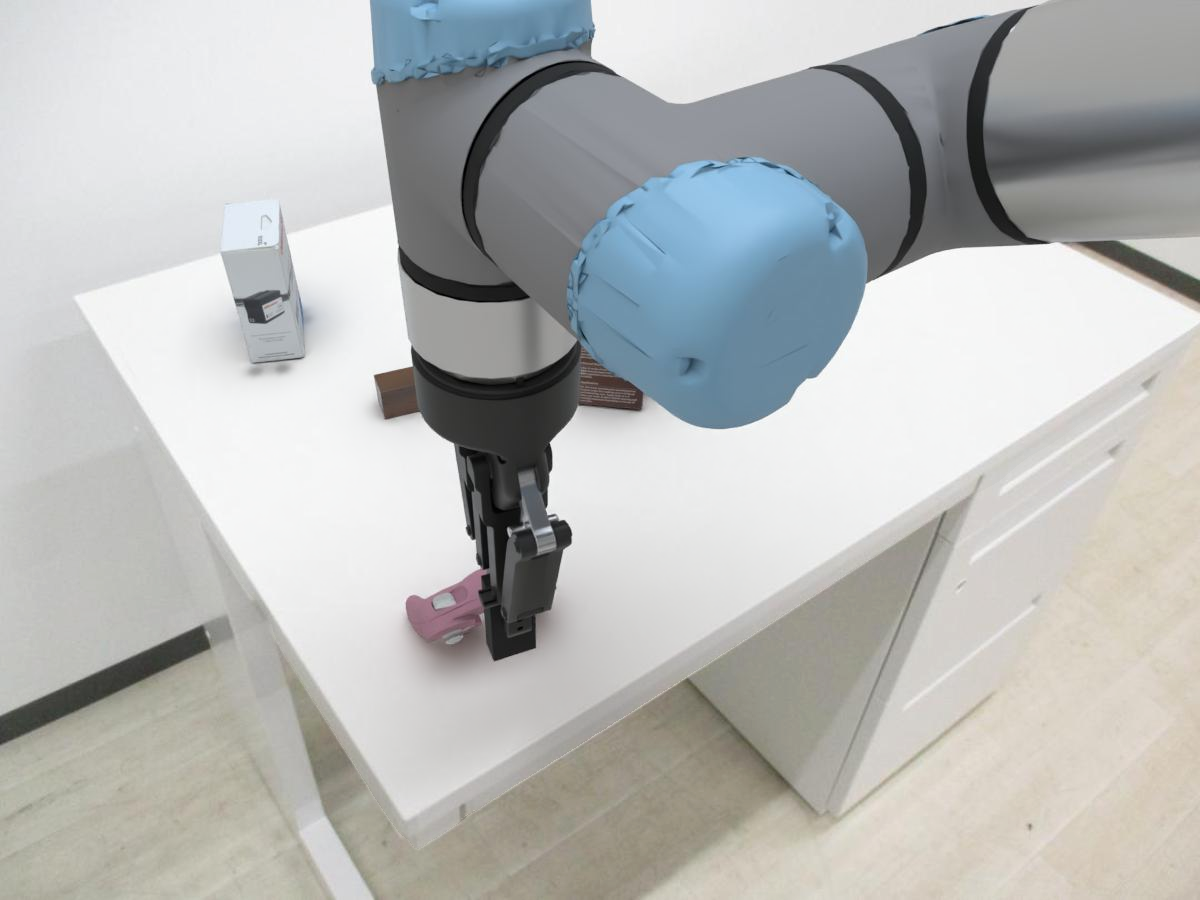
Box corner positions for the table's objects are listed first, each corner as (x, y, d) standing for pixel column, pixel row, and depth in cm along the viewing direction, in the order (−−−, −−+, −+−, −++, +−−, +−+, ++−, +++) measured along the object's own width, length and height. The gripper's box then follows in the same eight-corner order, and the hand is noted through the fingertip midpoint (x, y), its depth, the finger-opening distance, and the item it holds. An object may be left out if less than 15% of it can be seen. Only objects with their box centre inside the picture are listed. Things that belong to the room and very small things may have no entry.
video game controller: (422, 665, 65) (430, 646, 59) (398, 604, 66) (404, 579, 60) (551, 612, 68) (572, 589, 62) (527, 555, 70) (545, 527, 63)
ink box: (251, 311, 91) (222, 200, 83) (304, 305, 92) (280, 195, 84) (249, 365, 85) (217, 251, 77) (305, 358, 86) (279, 246, 78)
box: (646, 379, 86) (656, 265, 77) (642, 412, 82) (652, 296, 74) (580, 373, 86) (583, 258, 78) (573, 405, 83) (575, 289, 75)
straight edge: (726, 338, 91) (730, 312, 89) (384, 419, 81) (380, 392, 79) (714, 324, 92) (717, 298, 90) (378, 401, 82) (373, 374, 80)
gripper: (634, 406, 38) (609, 713, 55) (526, 244, 47) (532, 551, 63) (456, 452, 36) (485, 758, 53) (376, 272, 45) (422, 583, 61)
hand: (511, 645), depth 58 cm, fingers closed
